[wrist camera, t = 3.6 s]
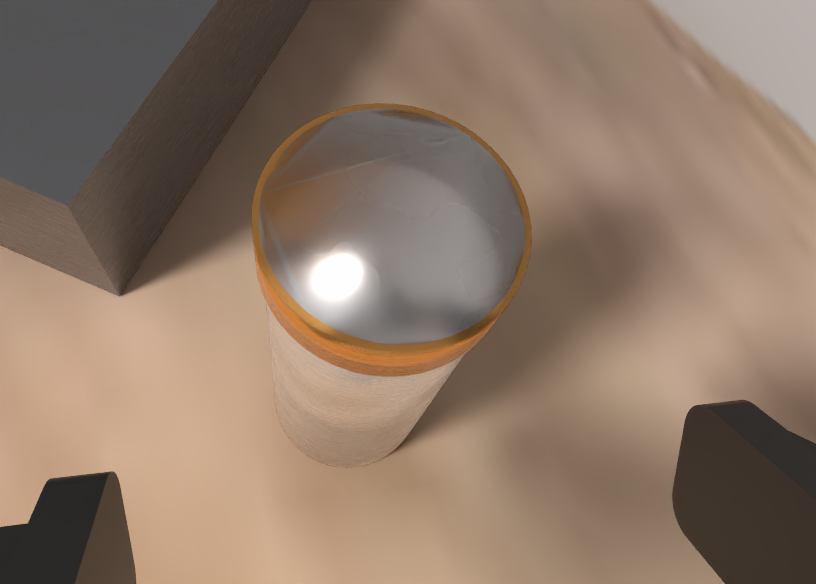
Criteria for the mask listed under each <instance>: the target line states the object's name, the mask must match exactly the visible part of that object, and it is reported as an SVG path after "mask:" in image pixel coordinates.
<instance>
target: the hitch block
mask: <svg viewBox="0 0 816 584" xmlns="http://www.w3.org/2000/svg"><path fill="white" fill-rule="evenodd" d="M310 2H311V0H0V245H1V246H3V247H6V248H8V249H10V250H13V251H15V252H17V253H20V254H22V255H24V256H27V257H29V258H31V259H34V260H36V261H38V262H41V263H43V264H45V265H48V266H50V267H52V268H55V269H57V270H59V271H62V272H64V273H66V274H69V275H71V276H73V277H76V278H78V279H80V280H83V281H85V282H87V283H90V284H92V285H94V286H97V287H99V288H101V289H104V290H106V291H108V292H110V293H113V294H115V295H117V296H120V295H121V293H122V292H123V290H124V289H125V287H126V286H127V284H128V283H129V281H130V280H131V278H132V276H133V275H134V273H135V272H136V270H137V269H138V267H139V266H140V264H141V263H142V261H143V259H144V258H145V256H146V255H147V253H148V252H149V250H150V249H151V247H152V246H153V244H154V242H155V241H156V239H157V238H158V236H159V235H160V233H161V232H162V230H163V229H164V227H165V225H166V224H167V222H168V221H169V219H170V218H171V216H172V215H173V213H174V212H175V210H176V209H177V207H178V205H179V204H180V202H181V201H182V199H183V198H184V196H185V195H186V193H187V192H188V190H189V188H190V187H191V185H192V184H193V182H194V181H195V179H196V178H197V176H198V175H199V173H200V171H201V170H202V168H203V167H204V165H205V164H206V162H207V161H208V159H209V158H210V156H211V154H212V153H213V151H214V150H215V148H216V147H217V145H218V144H219V142H220V141H221V139H222V137H223V136H224V134H225V133H226V131H227V130H228V128H229V127H230V125H231V124H232V122H233V120H234V119H235V117H236V116H237V114H238V113H239V111H240V110H241V108H242V107H243V105H244V103H245V102H246V100H247V99H248V97H249V96H250V94H251V93H252V91H253V90H254V88H255V86H256V85H257V83H258V82H259V80H260V79H261V77H262V76H263V74H264V73H265V71H266V69H267V68H268V66H269V65H270V63H271V62H272V60H273V59H274V57H275V56H276V54H277V53H278V51H279V49H280V48H281V46H282V45H283V43H284V42H285V40H286V39H287V37H288V36H289V34H290V32H291V31H292V29H293V28H294V26H295V25H296V23H297V22H298V20H299V19H300V17H301V15H302V14H303V12H304V11H305V9H306V8H307V6H308V5H309V3H310Z"/></svg>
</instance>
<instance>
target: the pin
mask: <svg viewBox="0 0 816 584" xmlns="http://www.w3.org/2000/svg"><path fill="white" fill-rule="evenodd" d="M252 234H253V243H254V251H255V260H256V268H257V274H258V280H259V283H260V286H261V290H262V293H263V295H264V297H265V300H266V308H267V319H268V329H269V340H270V350H271V361H272V372H273V382H274V393H275V403H276V410H277V414H278V418H279V421H280V423H281V426H282V428H283V430H284V432H285V433H286V435H287V436H288V438H289V439H290V440H291V441H292V443H293V444H294V445H295V446H296V447H297V448H298V449H299V450H300V451H301V452H303V453H304V454H306V455H307V456H309V457H310V458H312V459H314V460H316V461H318V462H321V463H324V464H326V465H331V466H335V467H346V468H348V467H359V466H364V465H368V464H371V463H374V462H376V461H378V460H380V459H382V458H384V457H386V456H387V455H389V454H390V453H392V452H393V451H394V450H395V449H396V448H397V447H398V446H399V445H400V444H401V443H402V442H403V441H404V440H405V438H406V437H407V435H408V434H409V433H410V431H411V430H412V428H413V427H414V425H415V424H416V423H417V421H418V420H419V418H420V417H421V416H422V414H423V413H424V411H425V410H426V408H427V407H428V406H429V404H430V403H431V401H432V400H433V398H434V397H435V396H436V394H437V393H438V391H439V390H440V389H441V387H442V386H443V384H444V383H445V381H446V380H447V379H448V377H449V376H450V374H451V373H452V371H453V370H454V369H455V367H456V366H457V364H458V363H459V362H460V360H461V359H462V357H463V356H464V354H465V353H467V352H468V351H469V350H470V349H471V348H473V347H474V346H475V345H476V344H477V343H478V342H479V341H480V340H481V339H482V338H483V337H484V336H485V334H486V333H487V332H488V331H489V330H490V328H491V327H492V326H493V324H494V323H495V322H496V320H497V319H498V317H499V316H500V315H501V313H502V312H503V311H504V309H505V308H506V307H507V305H508V304H509V302H510V301H511V299H512V298H513V296H514V295H515V293H516V292H517V290H518V288H519V287H520V284H521V282H522V280H523V278H524V275H525V273H526V269H527V266H528V262H529V258H530V251H531V243H532V238H531V222H530V216H529V210H528V207H527V204H526V201H525V198H524V195H523V193H522V190H521V188H520V186H519V184H518V182H517V180H516V178H515V177H514V175H513V174H512V172H511V170H510V169H509V167H508V166H507V165H506V163H505V162H504V161H503V160H502V159H501V157H500V156H499V155H498V154H497V153H496V152H495V151H494V150H493V149H492V148H491V147H490V146H489V145H488V144H487V143H486V142H485V141H483V140H482V139H481V138H480V137H478V136H477V135H476V134H475V133H473V132H472V131H470V130H468V129H467V128H465V127H464V126H462V125H460V124H459V123H457V122H455V121H453V120H451V119H448V118H446V117H444V116H442V115H439V114H436V113H433V112H431V111H428V110H424V109H420V108H416V107H412V106H405V105H398V104H365V105H357V106H352V107H347V108H342V109H339V110H336V111H333V112H330V113H327V114H325V115H323V116H320V117H318V118H316V119H314V120H312V121H310V122H309V123H307V124H305V125H304V126H302V127H301V128H299V129H298V130H297V131H295V132H294V133H293V134H292V135H290V136H289V137H288V138H287V139H286V140H285V141H284V142H283V143H282V144H281V145H280V146H279V147H278V148H277V149H276V150H275V152H274V153H273V155H272V156H271V158H270V159H269V160H268V162H267V163H266V165H265V167H264V169H263V171H262V173H261V175H260V177H259V180H258V183H257V186H256V189H255V193H254V198H253V204H252Z"/></svg>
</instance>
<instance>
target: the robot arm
mask: <svg viewBox="0 0 816 584" xmlns="http://www.w3.org/2000/svg"><path fill="white" fill-rule="evenodd" d="M672 500H673V508H674V512H675V516H676V519H677V521H678V524H679V526H680V528H681V530H682V531H683V533H684V534H685V536H686V537H687V538H688V540H689V541H690V542H691V543H692V544H693V546H694V547H695V548H696V549H697V550H698V552H699V553H700V554H701V555H702V556H703V558H704V559H705V560H706V561H707V562H708V564H709V565H710V566H711V567H712V568H713V570H714V571H715V572H716V573H717V574H718V576H719V577H720V578H721V579H722V580H723V582H724V583H725V584H816V444H815V443H813V442H811V441H808V440H806V439H804V438H802V437H800V436H798V435H796V434H794V433H792V432H790V431H787V430H786V429H785V428H784V427H782V426H781V425H780V424H778V423H777V422H776V421H775V420H773V419H772V418H771V417H769V416H768V415H767V414H766V413H764V412H763V411H762V410H760V409H759V408H758V407H757V406H755V405H754V404H752V403H751V402H749V401H746V400H738V401H729V402H721V403H712V404H704V405H696V406H694V407H692V408H691V409H690V410H689V412H688V414H687V416H686V419H685V424H684V429H683V435H682V441H681V446H680V452H679V458H678V463H677V469H676V475H675V480H674V486H673V493H672ZM0 584H136V573H135V565H134V559H133V554H132V548H131V543H130V537H129V532H128V526H127V521H126V516H125V510H124V505H123V499H122V494H121V488H120V484H119V480H118V477H117V475H116V473H115V472H104V473H95V474H87V475H78V476H69V477H61V478H52V479H49V480H48V481H47V482H46V484H45V486H44V488H43V490H42V492H41V495H40V497H39V499H38V502H37V504H36V506H35V509H34V511H33V513H32V515H31V518H30V520H29V522H28V524H20V525H13V526H5V527H0Z"/></svg>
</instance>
